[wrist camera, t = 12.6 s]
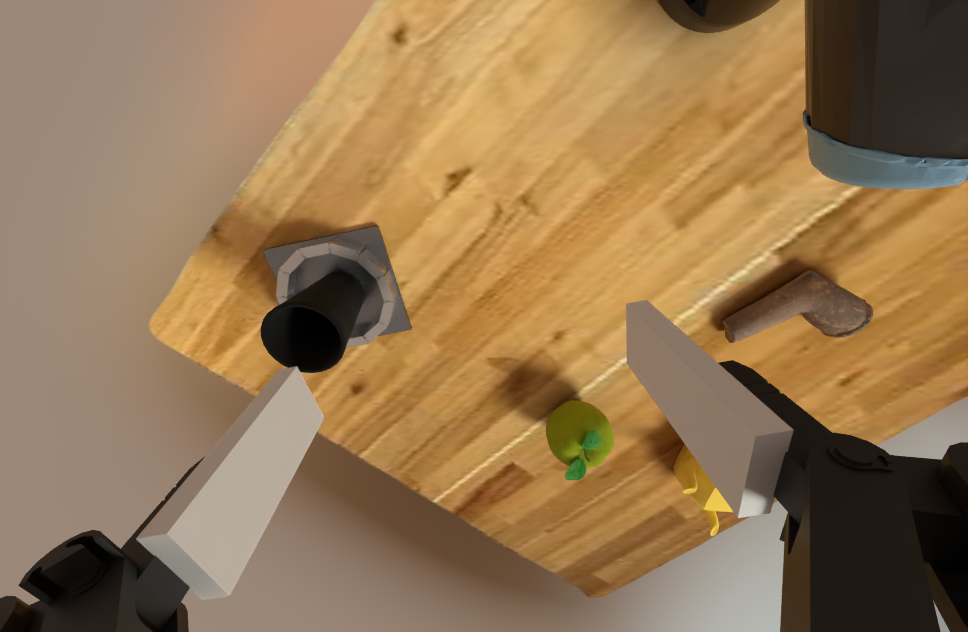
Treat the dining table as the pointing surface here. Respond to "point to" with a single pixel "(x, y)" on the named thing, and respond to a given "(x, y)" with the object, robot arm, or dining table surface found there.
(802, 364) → the dining table surface
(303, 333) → the cup
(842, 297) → the pipe
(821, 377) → the dining table surface
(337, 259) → the duct collar
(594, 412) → the fruit
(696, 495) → the teapot
